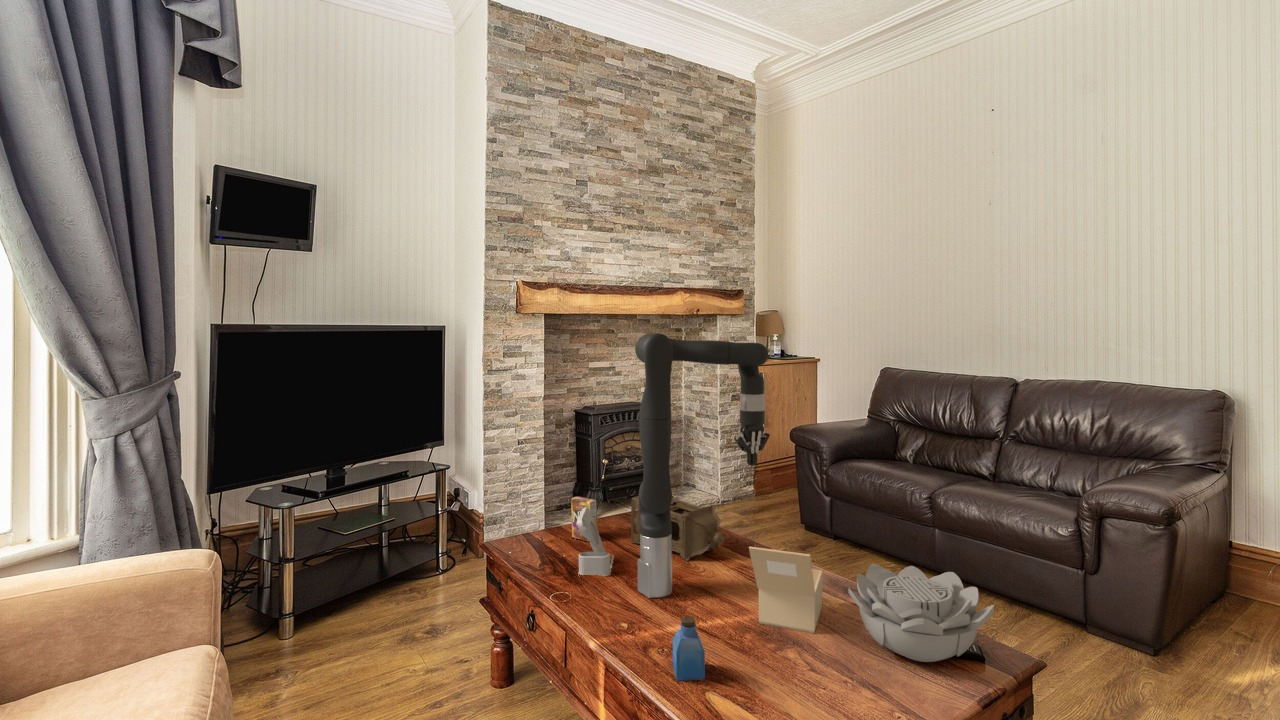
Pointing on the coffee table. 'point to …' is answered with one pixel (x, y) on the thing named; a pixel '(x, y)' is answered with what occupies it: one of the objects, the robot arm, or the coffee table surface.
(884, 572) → the decorative bowl
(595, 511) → the candy box
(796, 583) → the lid flap
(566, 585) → the coffee table surface
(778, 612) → the cardboard carton
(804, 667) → the coffee table surface
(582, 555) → the phone holder
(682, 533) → the brown lantern
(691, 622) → the perfume bottle
